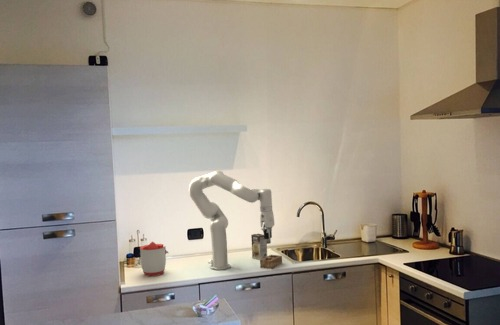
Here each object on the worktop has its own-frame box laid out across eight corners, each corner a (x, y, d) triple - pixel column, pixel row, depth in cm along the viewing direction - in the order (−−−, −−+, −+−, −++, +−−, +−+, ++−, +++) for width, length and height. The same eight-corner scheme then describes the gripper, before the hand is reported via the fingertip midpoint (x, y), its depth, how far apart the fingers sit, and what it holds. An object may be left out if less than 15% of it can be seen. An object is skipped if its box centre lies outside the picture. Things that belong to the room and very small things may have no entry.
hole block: (260, 267, 291) (260, 259, 291) (271, 262, 303) (270, 254, 303) (271, 269, 287) (271, 260, 287) (282, 263, 299) (281, 255, 299)
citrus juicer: (172, 274, 285) (170, 241, 284) (143, 278, 278) (141, 245, 277) (166, 268, 299) (164, 237, 298) (139, 272, 292) (137, 241, 292)
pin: (265, 243, 291) (264, 227, 291) (267, 242, 294) (266, 226, 293) (269, 243, 289) (268, 227, 289) (271, 242, 292) (270, 226, 292)
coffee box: (251, 258, 316) (250, 234, 316) (259, 256, 320) (258, 233, 319) (260, 260, 309) (259, 236, 308) (267, 258, 313) (266, 234, 312)
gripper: (265, 211, 282) (266, 241, 282) (277, 207, 296) (279, 236, 296) (254, 210, 286) (256, 240, 286) (267, 207, 300) (269, 235, 300)
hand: (267, 238), depth 291 cm, fingers closed on pin, 3 cm apart
